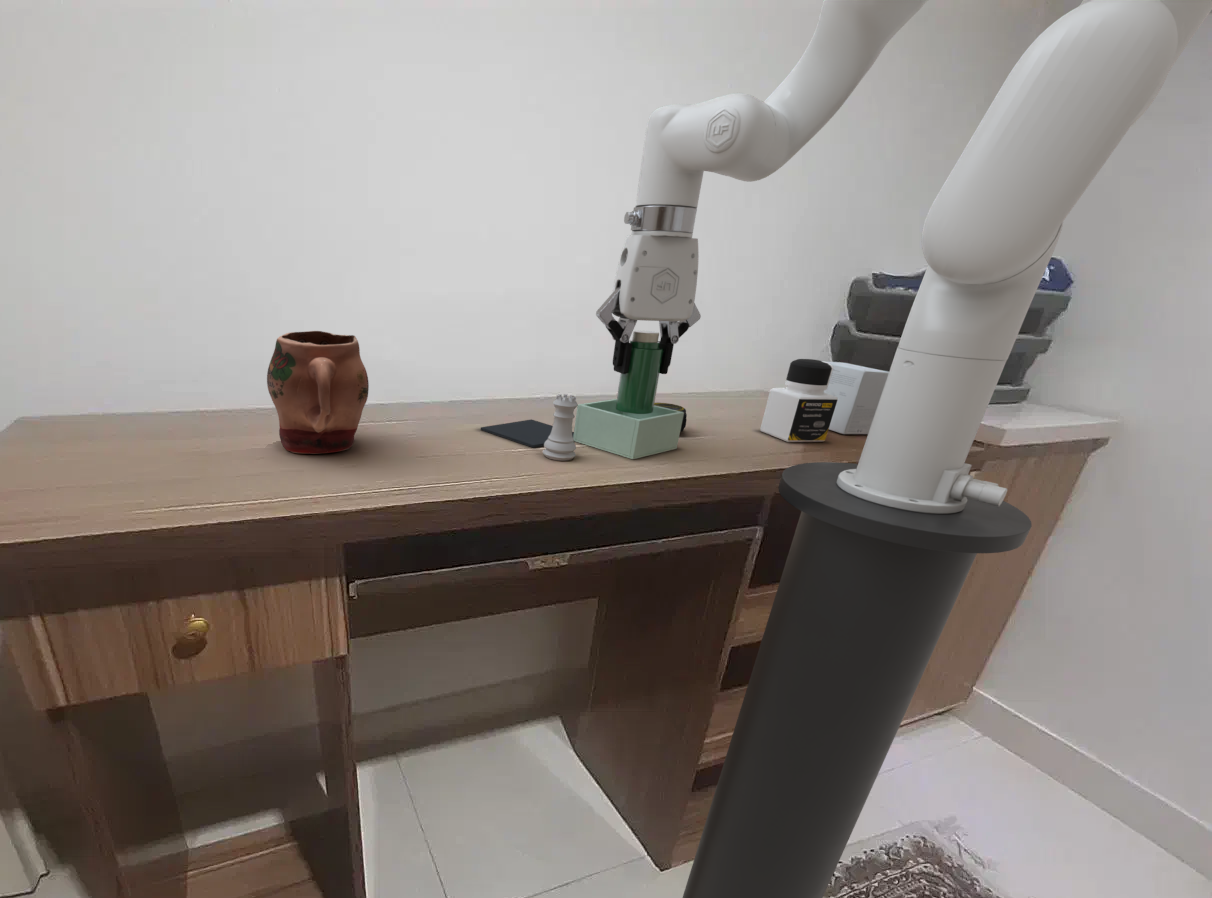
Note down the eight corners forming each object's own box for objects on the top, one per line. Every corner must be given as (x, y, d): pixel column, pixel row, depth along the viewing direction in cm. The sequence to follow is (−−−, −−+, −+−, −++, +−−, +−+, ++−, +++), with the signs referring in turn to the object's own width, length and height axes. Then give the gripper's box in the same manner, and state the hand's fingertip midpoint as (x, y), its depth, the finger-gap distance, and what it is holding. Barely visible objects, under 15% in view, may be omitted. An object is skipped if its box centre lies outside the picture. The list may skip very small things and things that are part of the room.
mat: (584, 437, 96) (584, 435, 96) (533, 447, 89) (533, 445, 89) (531, 421, 103) (531, 419, 103) (480, 429, 97) (480, 427, 97)
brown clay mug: (387, 469, 77) (388, 348, 71) (282, 476, 73) (273, 347, 67) (351, 427, 93) (349, 326, 87) (263, 430, 89) (255, 324, 83)
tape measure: (638, 431, 102) (642, 407, 100) (641, 422, 108) (645, 399, 106) (683, 437, 100) (688, 413, 98) (683, 427, 106) (688, 404, 104)
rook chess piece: (535, 453, 87) (542, 393, 84) (561, 450, 89) (569, 391, 86) (555, 462, 84) (563, 400, 80) (582, 459, 86) (591, 398, 82)
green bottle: (660, 411, 91) (673, 333, 87) (638, 415, 88) (651, 334, 84) (630, 404, 95) (641, 329, 90) (608, 408, 92) (618, 330, 87)
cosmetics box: (874, 435, 110) (895, 371, 105) (843, 435, 108) (864, 370, 103) (827, 420, 119) (846, 361, 114) (798, 420, 117) (816, 360, 112)
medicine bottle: (787, 442, 101) (809, 363, 96) (758, 431, 107) (778, 356, 102) (825, 442, 102) (849, 364, 97) (794, 430, 109) (815, 357, 104)
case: (676, 448, 94) (684, 412, 91) (632, 459, 87) (639, 420, 85) (617, 431, 101) (622, 397, 98) (572, 440, 94) (577, 404, 92)
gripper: (614, 219, 76) (594, 376, 84) (740, 227, 80) (709, 377, 88) (588, 221, 83) (572, 367, 91) (705, 229, 87) (680, 368, 94)
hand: (640, 371), depth 89 cm, fingers closed on green bottle, 5 cm apart
